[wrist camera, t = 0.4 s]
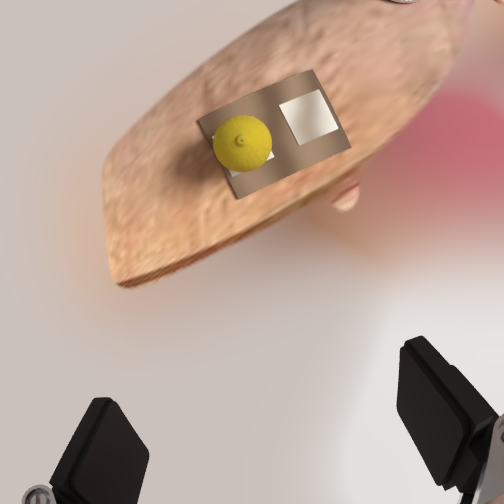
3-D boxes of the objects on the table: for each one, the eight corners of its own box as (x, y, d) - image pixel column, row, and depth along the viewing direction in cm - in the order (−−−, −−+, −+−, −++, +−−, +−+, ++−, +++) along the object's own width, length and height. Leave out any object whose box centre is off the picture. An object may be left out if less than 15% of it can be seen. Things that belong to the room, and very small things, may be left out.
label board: (311, 70, 30) (312, 69, 29) (350, 147, 32) (351, 147, 32) (198, 119, 31) (197, 119, 31) (238, 199, 34) (238, 199, 33)
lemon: (211, 164, 32) (200, 164, 24) (224, 116, 31) (217, 101, 23) (261, 177, 33) (266, 180, 25) (274, 128, 31) (283, 117, 23)
